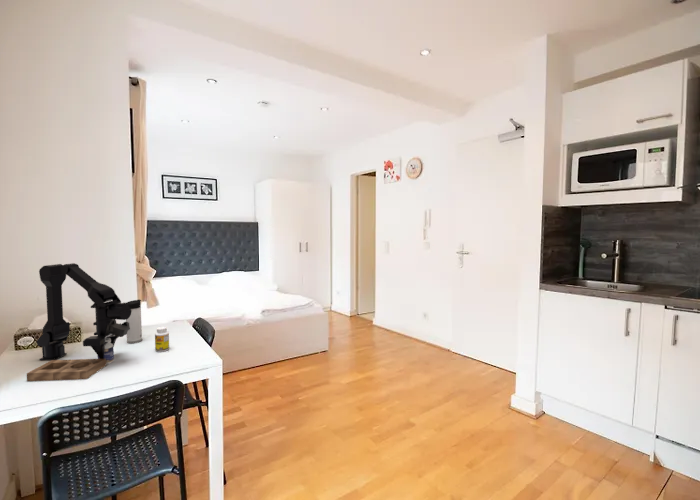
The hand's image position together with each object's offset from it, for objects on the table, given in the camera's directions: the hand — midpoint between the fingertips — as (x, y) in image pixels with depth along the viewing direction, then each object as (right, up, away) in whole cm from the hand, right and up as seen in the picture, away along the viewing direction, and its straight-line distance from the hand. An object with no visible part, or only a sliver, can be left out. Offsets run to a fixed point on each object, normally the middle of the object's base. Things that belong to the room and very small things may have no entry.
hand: (106, 355), depth 141 cm
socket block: (-7, -3, -10) cm, 13 cm away
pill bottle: (0, -3, 0) cm, 3 cm away
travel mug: (-4, -1, +25) cm, 26 cm away
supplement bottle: (+15, -2, +14) cm, 21 cm away
